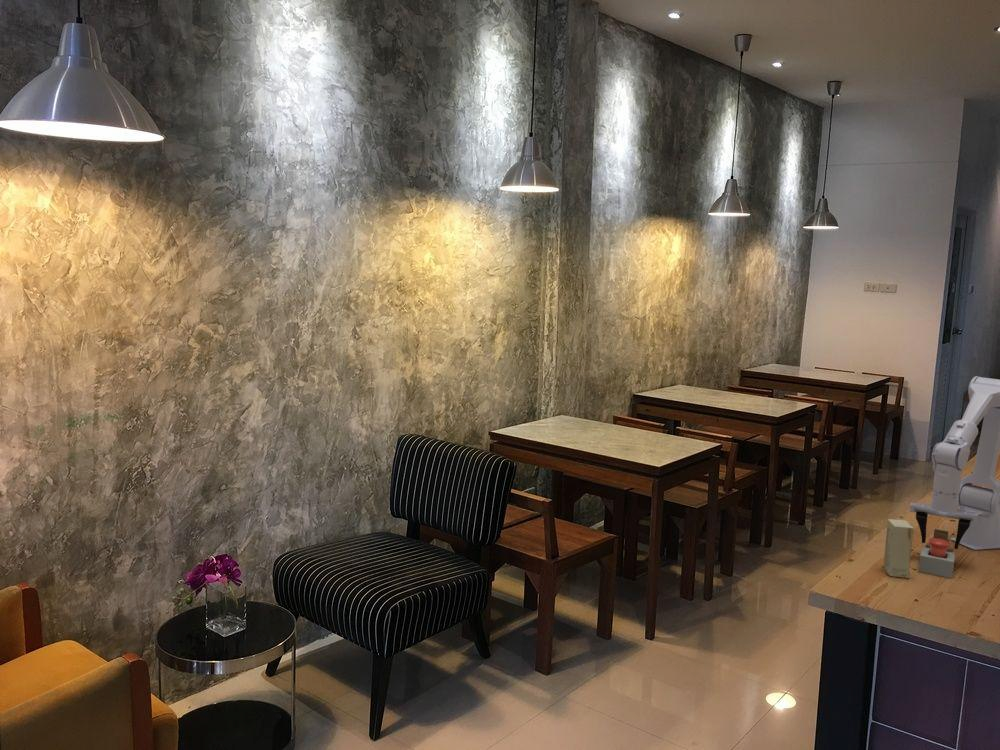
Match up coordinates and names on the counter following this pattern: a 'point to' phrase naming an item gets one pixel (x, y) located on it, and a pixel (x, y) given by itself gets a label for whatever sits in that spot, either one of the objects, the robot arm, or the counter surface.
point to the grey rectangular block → (936, 563)
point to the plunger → (938, 547)
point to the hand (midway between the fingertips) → (939, 544)
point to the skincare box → (898, 548)
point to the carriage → (941, 535)
